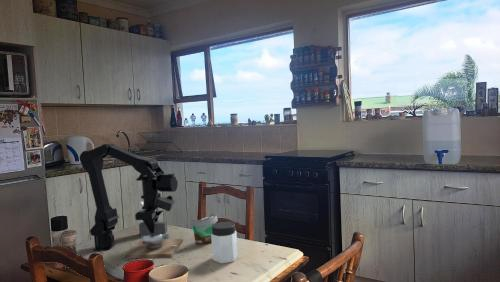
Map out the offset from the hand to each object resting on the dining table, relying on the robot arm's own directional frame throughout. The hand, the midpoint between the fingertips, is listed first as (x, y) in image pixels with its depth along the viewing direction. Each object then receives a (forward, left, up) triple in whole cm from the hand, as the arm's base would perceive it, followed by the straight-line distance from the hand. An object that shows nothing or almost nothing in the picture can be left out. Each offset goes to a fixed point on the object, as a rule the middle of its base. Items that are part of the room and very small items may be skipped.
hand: (153, 231), depth 140 cm
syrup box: (-9, +20, -7) cm, 23 cm away
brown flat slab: (0, 0, -7) cm, 7 cm away
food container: (+20, +7, -7) cm, 22 cm away
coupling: (0, 0, -3) cm, 4 cm away
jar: (+29, -11, -7) cm, 32 cm away
